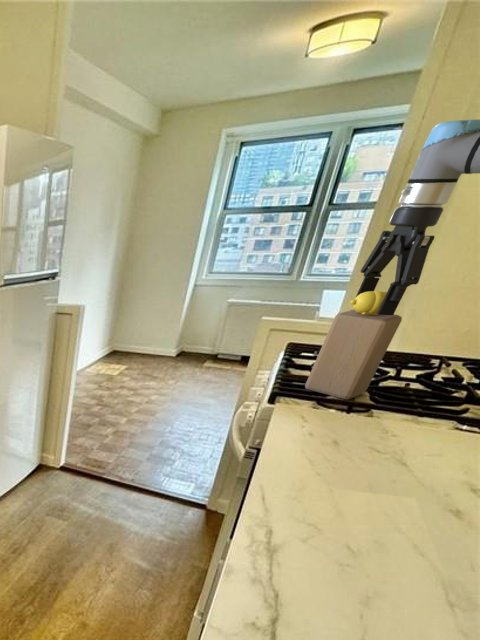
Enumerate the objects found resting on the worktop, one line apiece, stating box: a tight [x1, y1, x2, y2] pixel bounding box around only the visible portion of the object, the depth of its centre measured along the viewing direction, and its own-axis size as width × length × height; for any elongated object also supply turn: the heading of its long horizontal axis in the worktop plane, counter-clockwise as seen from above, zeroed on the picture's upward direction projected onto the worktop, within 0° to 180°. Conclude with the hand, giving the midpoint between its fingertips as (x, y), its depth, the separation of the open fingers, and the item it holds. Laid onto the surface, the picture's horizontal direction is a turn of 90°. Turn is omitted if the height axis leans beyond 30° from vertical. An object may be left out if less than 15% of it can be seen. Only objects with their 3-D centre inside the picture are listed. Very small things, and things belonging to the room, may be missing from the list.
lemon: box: [349, 290, 388, 315], centre depth 115 cm, size 8×5×5 cm, turn 73°
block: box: [304, 308, 403, 401], centre depth 121 cm, size 10×10×20 cm
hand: (371, 309), depth 116 cm, fingers open, 10 cm apart
